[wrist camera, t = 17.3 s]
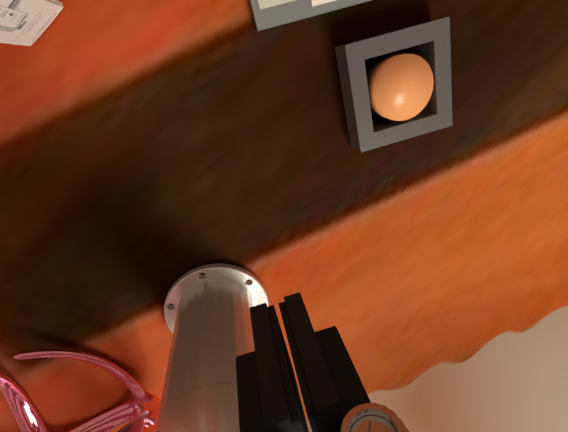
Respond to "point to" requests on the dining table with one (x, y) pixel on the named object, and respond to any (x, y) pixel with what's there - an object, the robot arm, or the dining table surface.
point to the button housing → (355, 92)
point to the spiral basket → (135, 411)
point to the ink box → (26, 19)
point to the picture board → (293, 10)
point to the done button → (399, 86)
